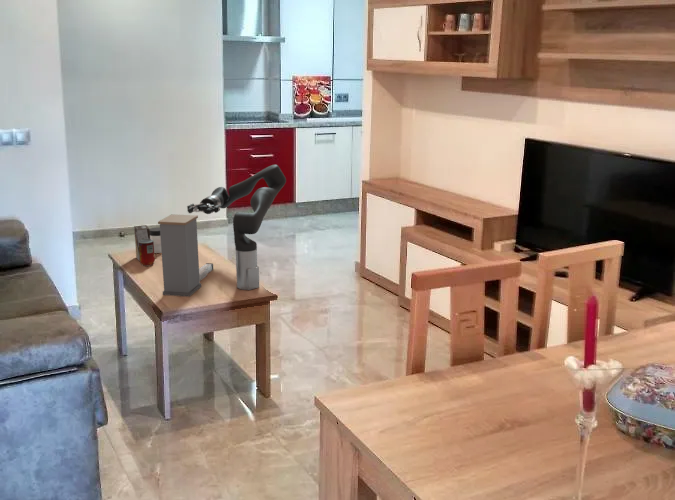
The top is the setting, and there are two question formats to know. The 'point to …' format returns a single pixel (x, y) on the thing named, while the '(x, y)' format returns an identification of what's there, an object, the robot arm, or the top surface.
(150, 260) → the soda can
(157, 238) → the jar
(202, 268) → the grey rectangular bar
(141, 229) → the coffee box
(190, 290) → the stand
